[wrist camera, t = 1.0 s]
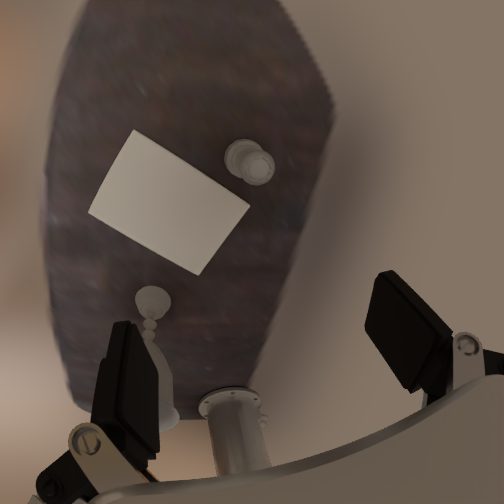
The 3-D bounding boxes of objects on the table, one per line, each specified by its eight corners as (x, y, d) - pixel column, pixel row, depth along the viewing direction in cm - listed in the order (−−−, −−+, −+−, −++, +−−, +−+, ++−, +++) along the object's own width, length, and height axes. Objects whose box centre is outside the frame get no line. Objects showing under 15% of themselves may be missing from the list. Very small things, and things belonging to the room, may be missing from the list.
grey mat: (249, 204, 33) (250, 205, 32) (198, 273, 36) (198, 275, 35) (134, 129, 26) (133, 129, 26) (89, 211, 29) (87, 212, 28)
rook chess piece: (263, 175, 32) (284, 193, 25) (224, 178, 31) (234, 196, 24) (262, 137, 30) (285, 143, 23) (222, 139, 29) (232, 145, 22)
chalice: (132, 273, 34) (104, 387, 18) (182, 284, 36) (186, 401, 20) (126, 316, 36) (108, 426, 21) (172, 325, 38) (174, 436, 23)
